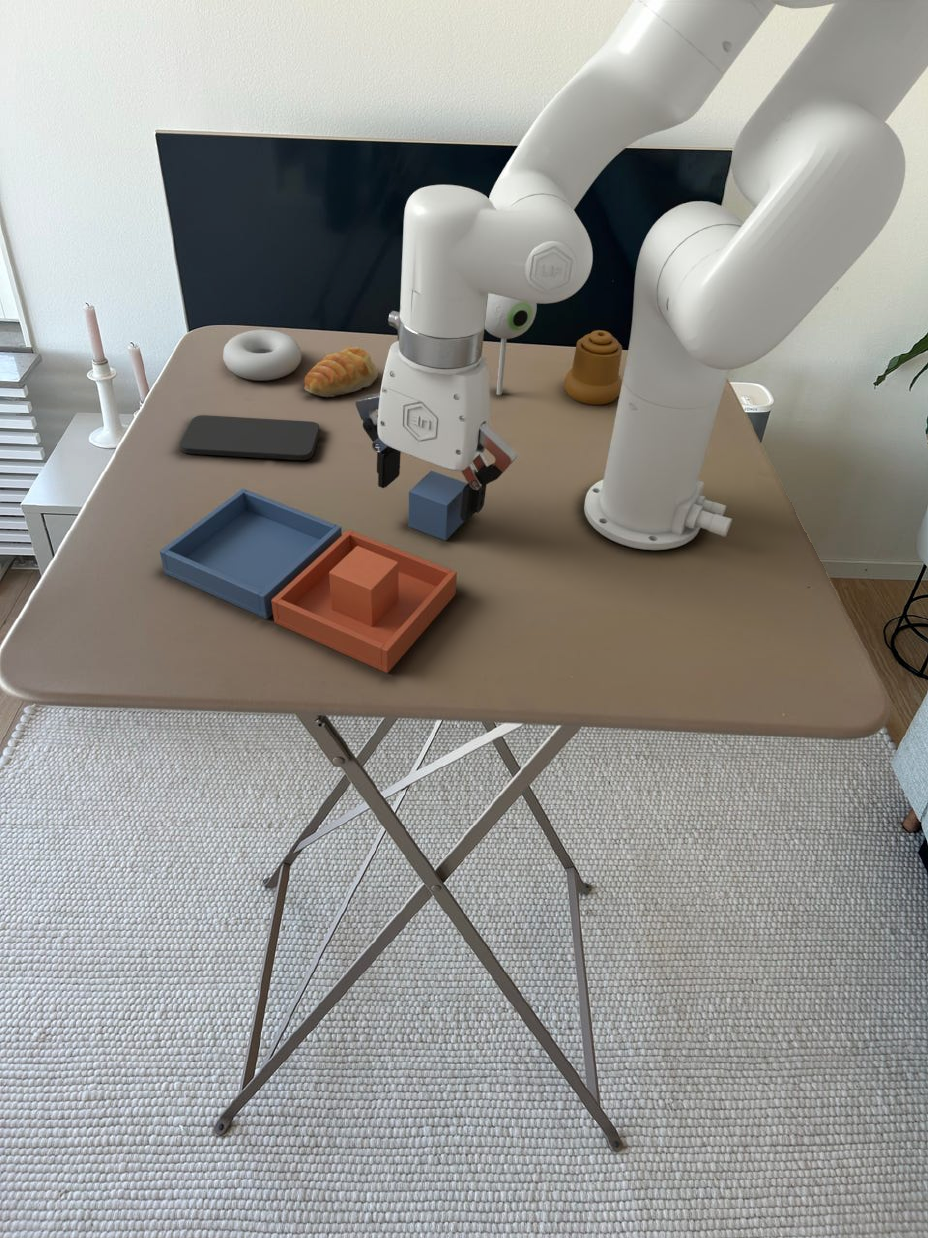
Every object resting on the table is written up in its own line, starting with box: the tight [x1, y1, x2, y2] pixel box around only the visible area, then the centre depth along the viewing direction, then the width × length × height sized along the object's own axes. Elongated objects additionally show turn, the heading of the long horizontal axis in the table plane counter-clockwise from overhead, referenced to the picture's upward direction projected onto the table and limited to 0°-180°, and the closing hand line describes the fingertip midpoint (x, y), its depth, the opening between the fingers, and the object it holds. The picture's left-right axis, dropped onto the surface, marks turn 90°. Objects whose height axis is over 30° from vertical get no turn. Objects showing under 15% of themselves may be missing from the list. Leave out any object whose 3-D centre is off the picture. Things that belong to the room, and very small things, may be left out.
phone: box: [179, 414, 321, 461], centre depth 102 cm, size 7×1×15 cm
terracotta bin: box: [271, 529, 458, 674], centre depth 81 cm, size 12×12×3 cm
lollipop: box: [484, 293, 538, 396], centre depth 108 cm, size 7×7×15 cm
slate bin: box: [159, 487, 343, 620], centre depth 86 cm, size 12×12×3 cm
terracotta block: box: [329, 546, 398, 627], centre depth 80 cm, size 4×4×4 cm
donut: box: [222, 329, 302, 381], centre depth 114 cm, size 10×4×10 cm
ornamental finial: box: [563, 329, 623, 406], centre depth 112 cm, size 8×8×8 cm
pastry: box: [304, 345, 379, 398], centre depth 111 cm, size 9×7×4 cm
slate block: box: [408, 470, 468, 542], centre depth 91 cm, size 4×4×4 cm
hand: (428, 497), depth 90 cm, fingers open, 9 cm apart
